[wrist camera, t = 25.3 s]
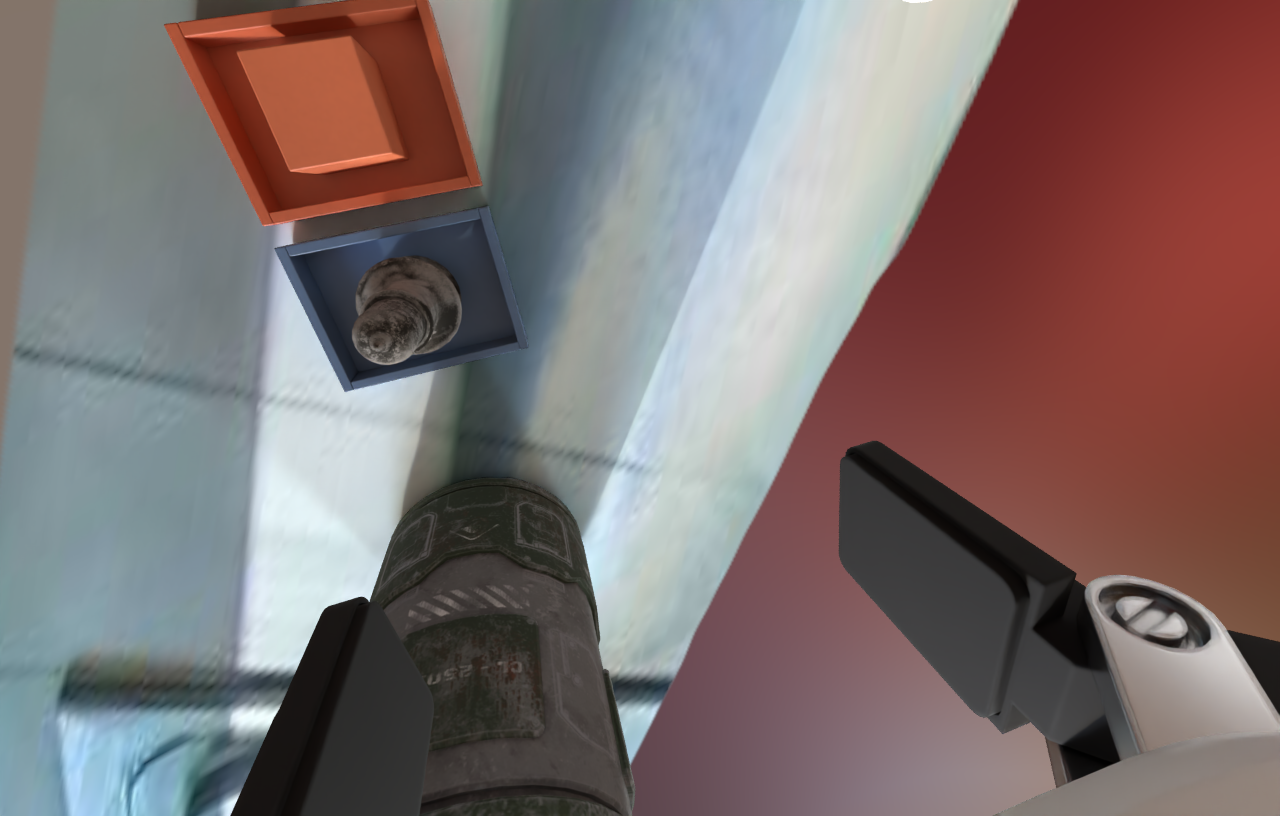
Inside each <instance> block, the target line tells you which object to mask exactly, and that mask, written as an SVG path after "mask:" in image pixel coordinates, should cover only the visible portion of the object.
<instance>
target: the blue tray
mask: <svg viewBox="0 0 1280 816" xmlns="http://www.w3.org/2000/svg"><path fill="white" fill-rule="evenodd" d="M275 251H276V253H277V255H278V257H279V259H280V261H281V263H282V265H283V267H284V269H285V271H286V273H287V276H288V278H289V280H290V282H291V284H292V286H293V288H294V290H295V292H296V294H297V296H298V298H299V300H300V302H301V304H302V306H303V308H304V310H305V312H306V314H307V316H308V318H309V320H310V322H311V324H312V326H313V328H314V330H315V332H316V334H317V336H318V338H319V340H320V342H321V344H322V347H323V349H324V351H325V353H326V355H327V357H328V359H329V361H330V363H331V365H332V367H333V369H334V371H335V373H336V375H337V377H338V379H339V381H340V383H341V385H342V387H343V389H344V391H345V392H348V391H352V390H354V389H355V390H356V389H360V388H364V387H368V386H373V385H377V384H381V383H385V382H389V381H393V380H397V379H401V378H406V377H410V376H414V375H418V374H422V373H426V372H430V371H434V370H438V369H443V368H447V367H451V366H455V365H459V364H463V363H467V362H471V361H476V360H480V359H484V358H488V357H492V356H496V355H500V354H504V353H508V352H513V351H517V350H520V349H525V348H528V340H527V335H526V332H525V328H524V325H523V321H522V318H521V315H520V311H519V308H518V304H517V301H516V297H515V294H514V290H513V287H512V283H511V280H510V277H509V273H508V270H507V266H506V263H505V259H504V256H503V252H502V249H501V246H500V242H499V239H498V235H497V232H496V228H495V225H494V221H493V218H492V215H491V211H490V208H489V206H483V207H478V208H473V209H468V210H463V211H458V212H453V213H448V214H442V215H437V216H432V217H427V218H422V219H417V220H412V221H407V222H402V223H397V224H392V225H387V226H381V227H376V228H371V229H366V230H361V231H356V232H351V233H346V234H341V235H336V236H331V237H325V238H320V239H315V240H310V241H305V242H300V243H295V244H290V245H286V246H282V247H277V248H275ZM413 255H416V256H422V257H427V258H430V259H432V260H434V261H437V262H438V263H440V264H441V265H443V266H444V267H445V268H447V269H448V270H449V272H450V273H451V274H452V275H453V276H454V278H455V279H456V281H457V283H458V285H459V288H460V292H461V297H462V299H461V306H462V316H461V322H460V325H459V328H458V331H457V332H456V334H455V335H454V336H453V338H452V339H451V341H450V342H448V343H447V344H446V345H444V346H443V347H442V348H440V349H438V350H435V351H433V352H430V353H425V354H417V355H415V354H412V355H411V356H410V357H409V358H407V359H406V360H404V361H402V362H399V363H397V364H391V365H383V364H378V363H374V362H371V361H370V360H368V359H366V358H365V357H363V356H362V355H361V354H360V353H359V352H358V350H357V349H356V347H355V346H354V343H353V340H352V329H353V326H354V322H355V321H356V320H357V318H358V317H359V316H358V313H357V309H356V291H357V287H358V284H359V281H360V280H361V278H362V277H363V275H364V274H365V273H366V271H367V270H369V269H370V268H371V267H373V266H374V265H375V264H376V263H379V262H381V261H384V260H386V259H389V258H397V257H403V256H413Z"/></svg>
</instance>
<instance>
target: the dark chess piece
mask: <svg viewBox="0 0 1280 816" xmlns="http://www.w3.org/2000/svg"><path fill="white" fill-rule="evenodd" d="M461 299H462V297H461V292H460V288H459V285H458V283H457V281H456V279H455V278H454V276H453V275H452V274H451V273H450V272H449V270H448V269H447V268H445V267H444V266H443V265H441V264H440V263H438V262H437V261H434V260H432V259H430V258H427V257H422V256H416V255H413V256H403V257H397V258H389V259H386V260H384V261H381V262H379V263H376V264H375V265H374V266H373V267H371V268H370V269H369V270H367V271H366V273H365V274H364V275H363V277H362V278H361V280H360V281H359V284H358V287H357V291H356V309H357V313H358V316H359V317H358V318H357V320H356V321H355V322H354V326H353V329H352V340H353V343H354V346H355V347H356V349H357V350H358V352H359V353H360V354H361V355H362V356H363V357H365V358H366V359H368V360H370V361H371V362H374V363H378V364H383V365H391V364H397V363H399V362H402V361H404V360H406V359H407V358H409V357H410V356H411V355H412V354H415V355H417V354H425V353H430V352H433V351H435V350H438V349H440V348H442V347H443V346H444V345H446V344H447V343H448V342H450V341H451V339H452V338H453V336H454V335H455V334H456V332H457V331H458V328H459V325H460V322H461V316H462V306H461Z"/></svg>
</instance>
